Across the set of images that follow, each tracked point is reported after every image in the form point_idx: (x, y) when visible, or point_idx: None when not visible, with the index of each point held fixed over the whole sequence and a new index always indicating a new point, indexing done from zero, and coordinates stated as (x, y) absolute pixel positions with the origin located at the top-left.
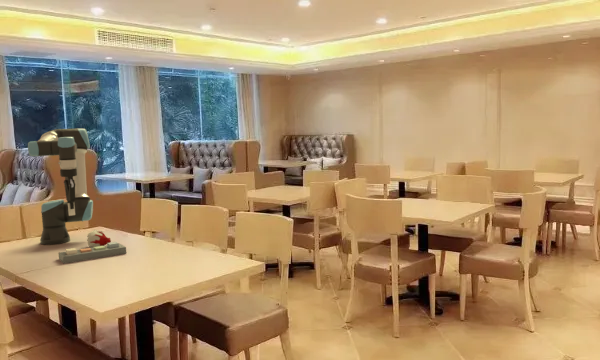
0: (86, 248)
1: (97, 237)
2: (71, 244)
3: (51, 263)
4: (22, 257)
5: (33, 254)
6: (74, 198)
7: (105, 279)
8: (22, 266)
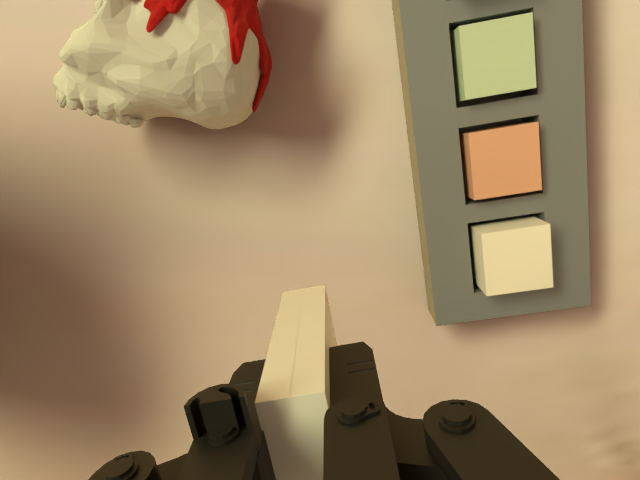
0: (481, 154)
1: (249, 46)
2: (10, 222)
3: (514, 348)
4: None
5: None
6: (537, 473)
7: None
8: None
